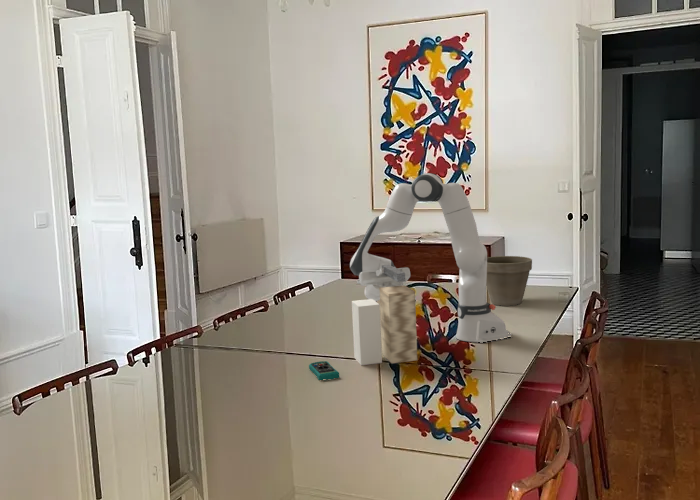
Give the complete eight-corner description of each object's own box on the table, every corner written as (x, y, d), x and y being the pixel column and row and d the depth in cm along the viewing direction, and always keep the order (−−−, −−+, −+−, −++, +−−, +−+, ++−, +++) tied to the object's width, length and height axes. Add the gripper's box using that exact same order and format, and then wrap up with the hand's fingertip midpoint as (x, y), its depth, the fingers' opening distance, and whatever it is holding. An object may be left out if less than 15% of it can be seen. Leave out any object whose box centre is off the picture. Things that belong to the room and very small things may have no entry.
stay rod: (389, 272, 272) (389, 264, 272) (405, 281, 253) (405, 272, 252) (382, 272, 271) (381, 265, 271) (397, 281, 252) (397, 273, 252)
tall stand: (407, 351, 270) (404, 285, 266) (417, 360, 258) (414, 291, 254) (382, 354, 267) (379, 287, 264) (391, 363, 256) (388, 293, 252)
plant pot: (493, 295, 359) (492, 253, 355) (540, 299, 344) (539, 256, 341) (471, 305, 339) (470, 261, 335) (520, 310, 324) (519, 264, 321)
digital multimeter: (327, 367, 256) (327, 359, 256) (340, 379, 242) (339, 371, 242) (308, 370, 254) (308, 362, 254) (319, 382, 240) (319, 374, 240)
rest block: (374, 355, 267) (372, 298, 264) (382, 362, 257) (379, 304, 254) (354, 357, 265) (351, 300, 262) (361, 365, 255) (358, 306, 252)
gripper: (354, 276, 279) (361, 264, 266) (403, 271, 283) (412, 259, 271) (357, 291, 276) (363, 279, 264) (406, 286, 281) (415, 274, 269)
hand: (388, 269), depth 267 cm, fingers closed on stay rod, 3 cm apart
